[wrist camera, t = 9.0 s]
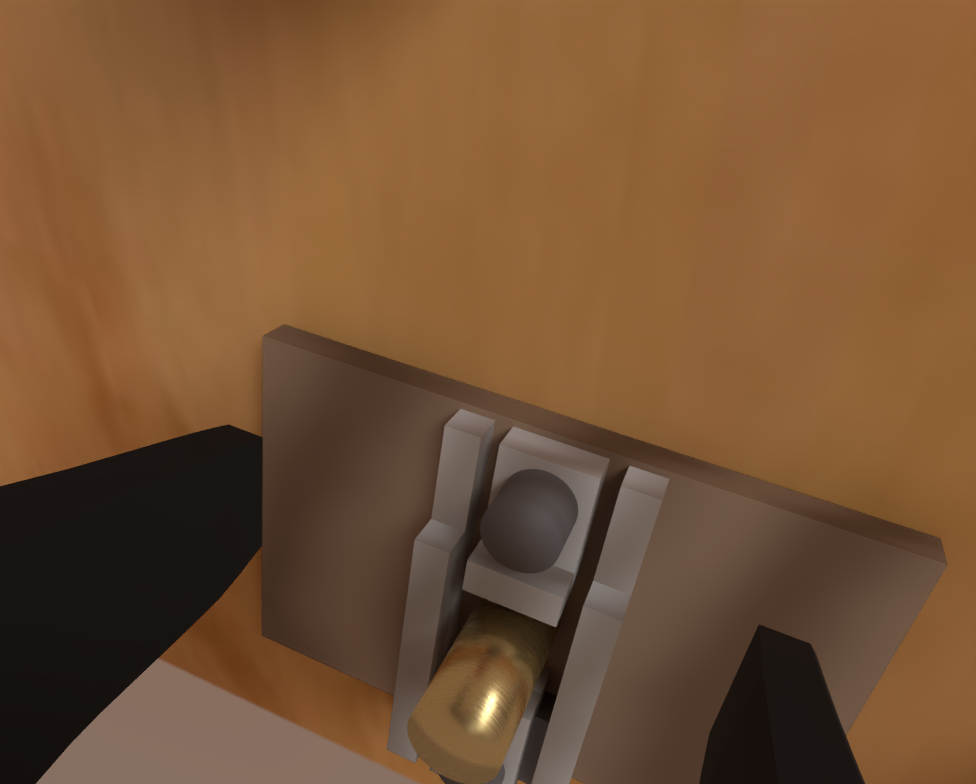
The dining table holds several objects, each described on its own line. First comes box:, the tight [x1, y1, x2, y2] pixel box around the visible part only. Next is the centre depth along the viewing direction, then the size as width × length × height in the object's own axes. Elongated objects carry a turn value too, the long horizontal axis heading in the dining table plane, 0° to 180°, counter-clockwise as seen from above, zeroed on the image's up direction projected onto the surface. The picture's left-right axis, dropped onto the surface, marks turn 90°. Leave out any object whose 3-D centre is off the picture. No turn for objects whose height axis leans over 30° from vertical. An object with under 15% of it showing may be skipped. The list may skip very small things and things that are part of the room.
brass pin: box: [407, 597, 562, 784], centre depth 19 cm, size 2×2×5 cm
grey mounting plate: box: [262, 325, 948, 784], centre depth 21 cm, size 18×12×4 cm, turn 81°
